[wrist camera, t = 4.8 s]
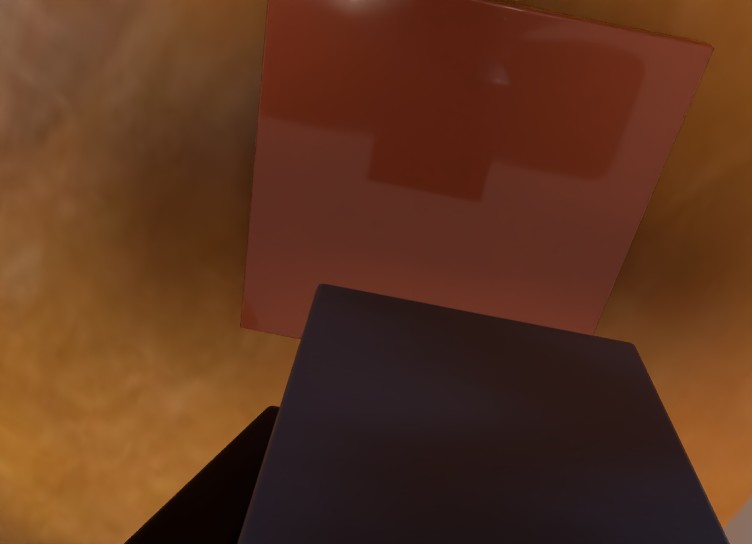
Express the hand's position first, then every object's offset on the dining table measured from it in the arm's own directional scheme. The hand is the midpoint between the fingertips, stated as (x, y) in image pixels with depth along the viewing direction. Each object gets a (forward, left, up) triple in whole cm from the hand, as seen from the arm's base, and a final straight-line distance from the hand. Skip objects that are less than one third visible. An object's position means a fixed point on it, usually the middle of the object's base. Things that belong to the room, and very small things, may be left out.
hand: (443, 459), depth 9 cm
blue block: (0, 0, -1) cm, 1 cm away
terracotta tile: (0, 0, -9) cm, 9 cm away
